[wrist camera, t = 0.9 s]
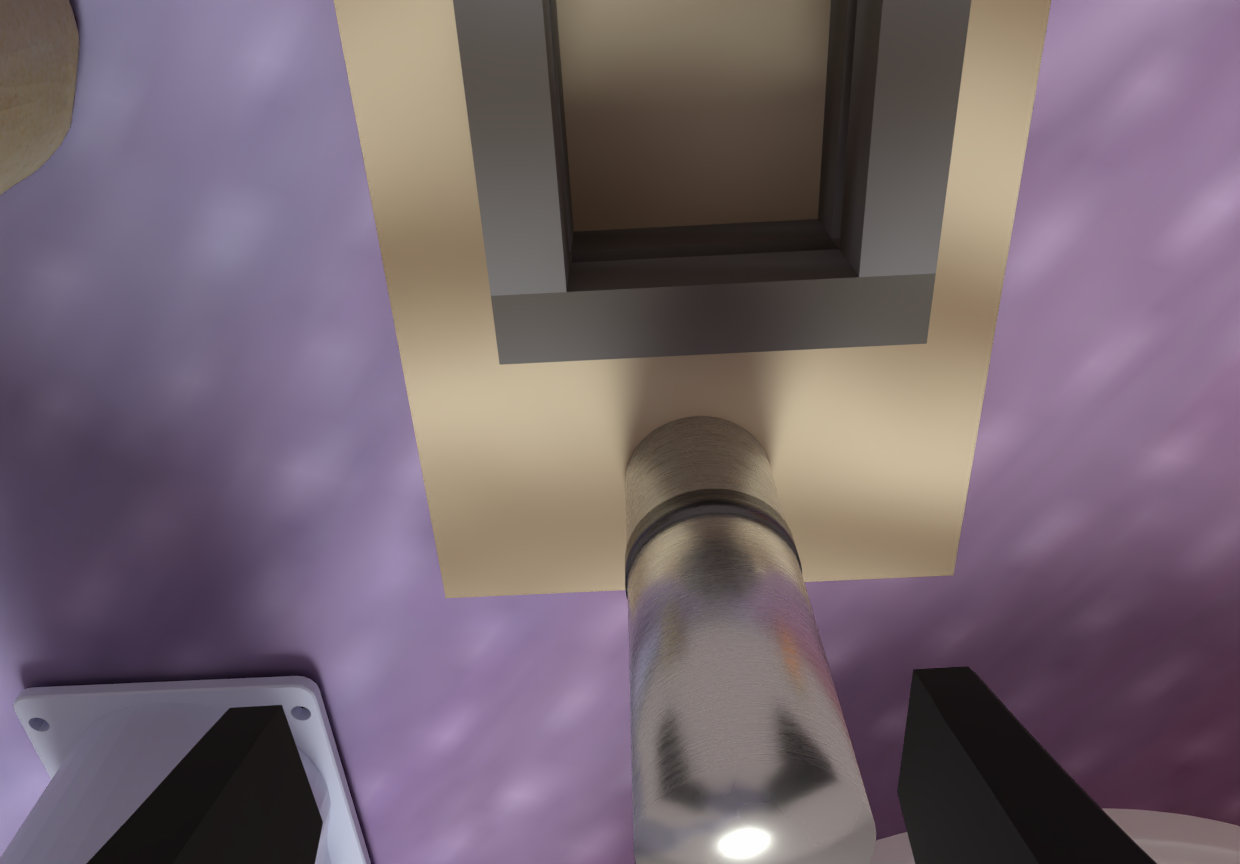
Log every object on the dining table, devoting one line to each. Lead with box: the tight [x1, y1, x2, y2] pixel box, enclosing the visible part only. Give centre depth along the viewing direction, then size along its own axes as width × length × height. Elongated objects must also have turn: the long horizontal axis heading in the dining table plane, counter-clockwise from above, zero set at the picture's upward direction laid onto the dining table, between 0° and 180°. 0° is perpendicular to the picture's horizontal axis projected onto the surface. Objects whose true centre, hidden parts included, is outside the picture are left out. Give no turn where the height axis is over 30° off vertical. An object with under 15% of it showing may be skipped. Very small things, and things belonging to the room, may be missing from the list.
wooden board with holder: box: [334, 0, 1051, 598], centre depth 16 cm, size 15×12×4 cm
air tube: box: [625, 416, 876, 864], centre depth 16 cm, size 3×3×9 cm
